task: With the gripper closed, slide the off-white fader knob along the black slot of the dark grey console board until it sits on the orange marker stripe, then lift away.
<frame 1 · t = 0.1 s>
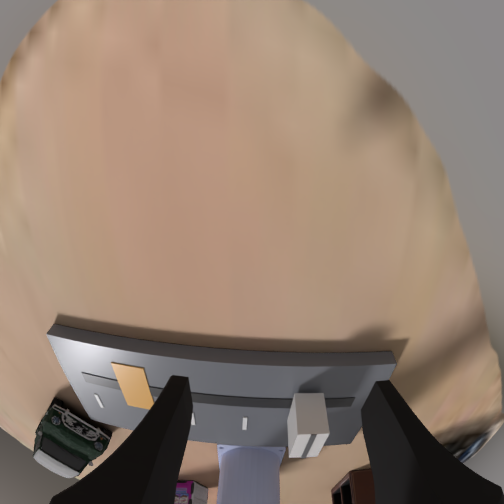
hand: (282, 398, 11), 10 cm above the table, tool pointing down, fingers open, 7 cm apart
console board: (214, 398, 26), on the table
fader knob: (306, 427, 22), point 4 cm above the table, slide at 0.0 cm
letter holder: (391, 472, 38), on the table
miniature car: (72, 424, 34), on the table
candy bar box: (177, 484, 41), on the table
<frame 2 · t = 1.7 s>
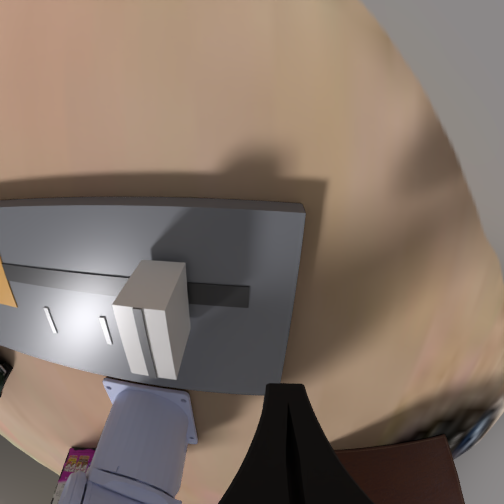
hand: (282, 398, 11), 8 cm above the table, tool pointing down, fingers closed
console board: (74, 291, 19), on the table
fader knob: (156, 319, 15), point 4 cm above the table, slide at 0.0 cm
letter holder: (367, 459, 31), on the table
candy bar box: (101, 454, 33), on the table
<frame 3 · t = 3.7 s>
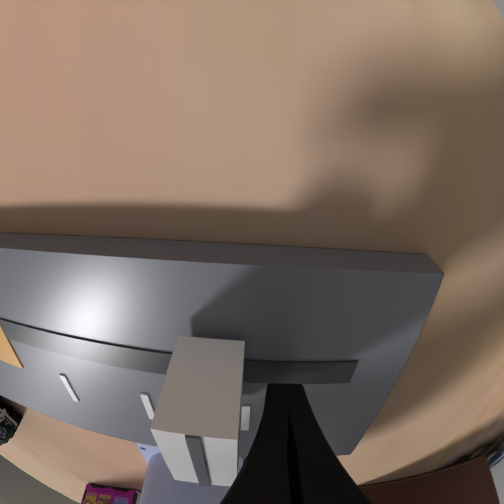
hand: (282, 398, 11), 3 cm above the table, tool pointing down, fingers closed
console board: (99, 355, 14), on the table
fader knob: (206, 418, 10), point 4 cm above the table, slide at 1.4 cm, touching gripper
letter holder: (409, 484, 26), on the table
candy bar box: (122, 491, 29), on the table
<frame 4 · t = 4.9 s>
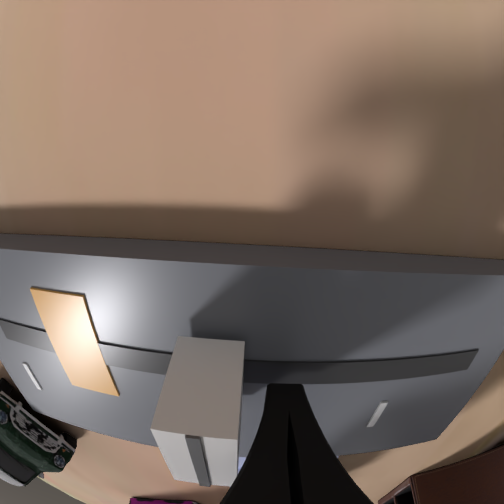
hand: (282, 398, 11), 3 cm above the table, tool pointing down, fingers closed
console board: (226, 372, 14), on the table
fader knob: (206, 418, 10), point 4 cm above the table, slide at 8.3 cm, touching gripper
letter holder: (452, 471, 26), on the table
miniature car: (19, 413, 21), on the table
candy bar box: (171, 503, 29), on the table
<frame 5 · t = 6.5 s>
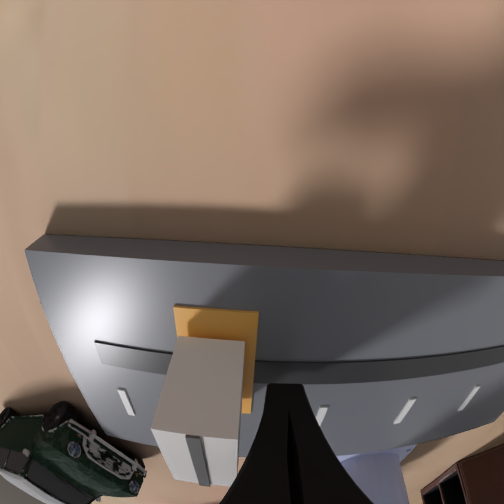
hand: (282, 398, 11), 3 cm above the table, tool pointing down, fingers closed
console board: (359, 374, 14), on the table
fader knob: (206, 418, 10), point 4 cm above the table, slide at 15.1 cm, touching gripper
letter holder: (485, 457, 26), on the table
miniature car: (65, 431, 21), on the table
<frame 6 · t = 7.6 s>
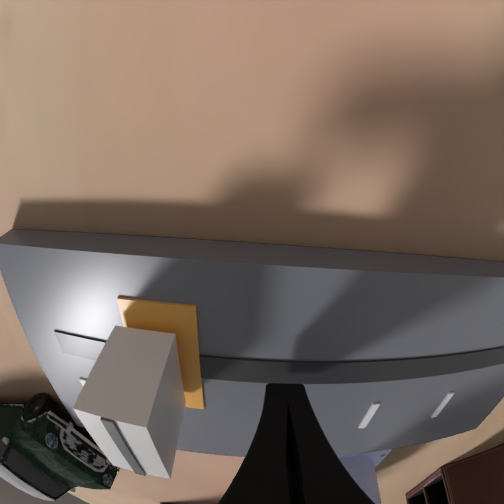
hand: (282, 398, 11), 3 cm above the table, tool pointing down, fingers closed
console board: (318, 375, 14), on the table
fader knob: (139, 407, 10), point 4 cm above the table, slide at 15.4 cm
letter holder: (474, 462, 26), on the table
miniature car: (43, 421, 21), on the table
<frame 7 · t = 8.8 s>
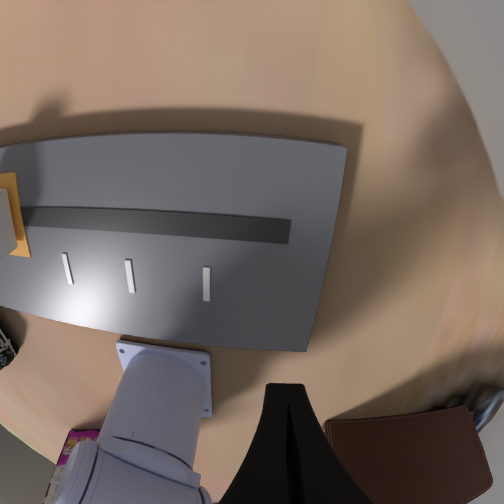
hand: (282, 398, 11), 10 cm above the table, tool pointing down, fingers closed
console board: (96, 237, 19), on the table
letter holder: (388, 432, 30), on the table
candy bar box: (103, 437, 33), on the table
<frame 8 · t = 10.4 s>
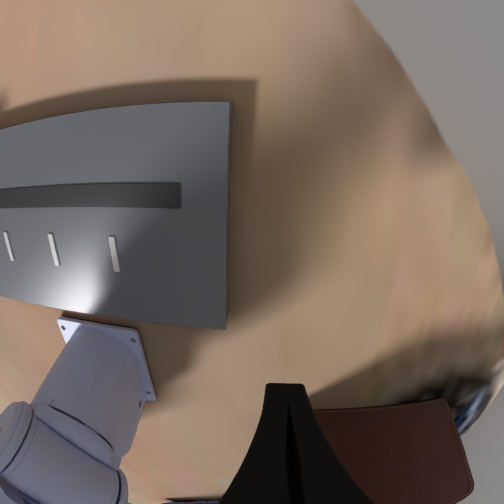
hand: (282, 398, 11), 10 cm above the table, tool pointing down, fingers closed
console board: (31, 216, 18), on the table
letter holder: (356, 427, 29), on the table
lunch box: (216, 503, 46), on the table
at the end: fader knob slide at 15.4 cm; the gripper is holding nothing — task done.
